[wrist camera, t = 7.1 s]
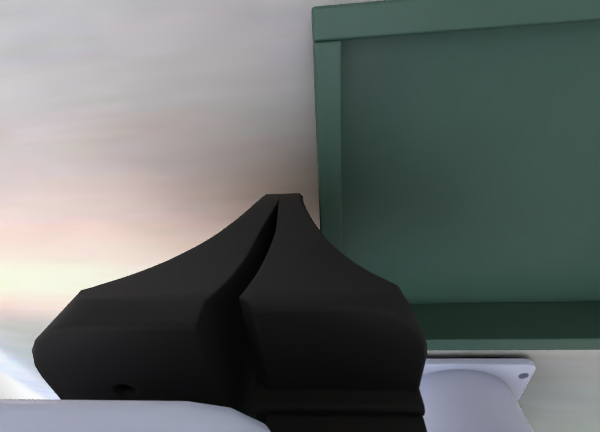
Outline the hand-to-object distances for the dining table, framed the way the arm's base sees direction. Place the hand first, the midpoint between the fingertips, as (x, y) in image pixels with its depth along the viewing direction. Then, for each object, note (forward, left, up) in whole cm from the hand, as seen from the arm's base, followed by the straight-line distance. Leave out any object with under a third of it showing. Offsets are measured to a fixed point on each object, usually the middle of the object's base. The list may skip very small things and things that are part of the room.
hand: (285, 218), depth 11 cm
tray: (0, -9, -1) cm, 9 cm away
